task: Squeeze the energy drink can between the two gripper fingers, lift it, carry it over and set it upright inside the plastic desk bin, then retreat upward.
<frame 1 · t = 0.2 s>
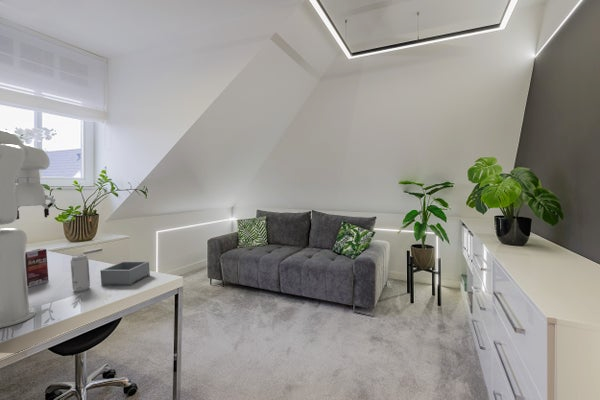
hand: (32, 218, 129), 31 cm above the table, tool pointing down, fingers open, 9 cm apart
supplement box: (35, 284, 130), on the table
energy drink can: (81, 290, 122), on the table
desk bin: (126, 280, 132), on the table
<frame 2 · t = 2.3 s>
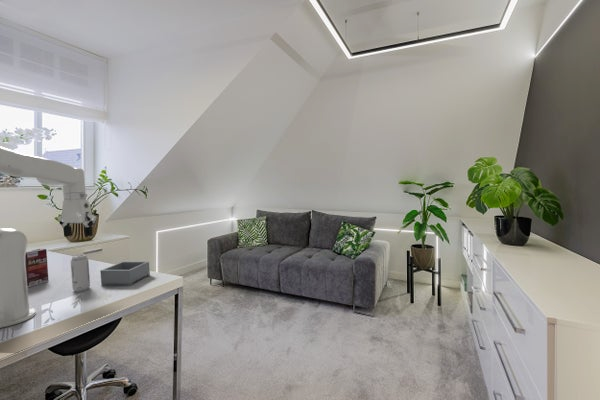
hand: (78, 236, 120), 24 cm above the table, tool pointing down, fingers open, 9 cm apart
nothing on the table moved.
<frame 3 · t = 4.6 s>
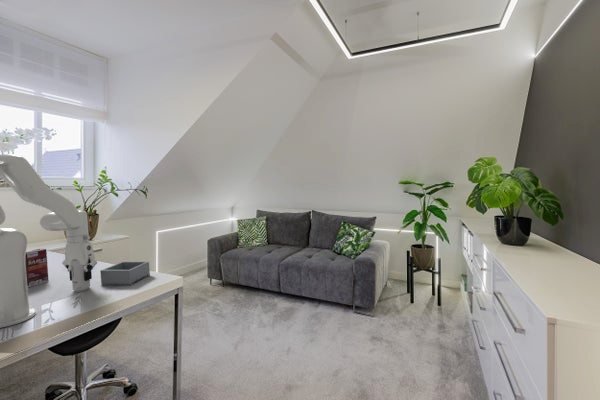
hand: (81, 279, 121), 5 cm above the table, tool pointing down, fingers closed on energy drink can, 6 cm apart
energy drink can: (81, 290, 122), on the table, touching gripper
everything else where it was.
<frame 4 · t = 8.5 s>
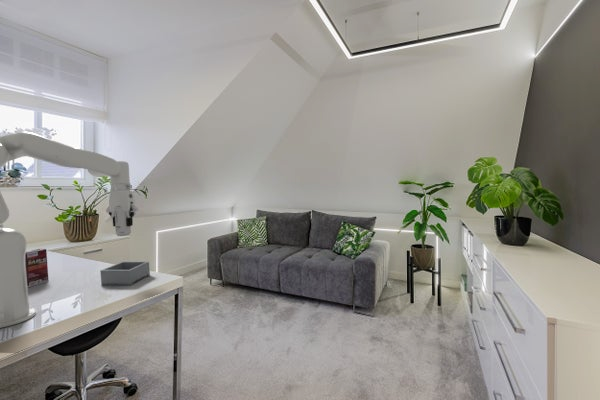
hand: (122, 225, 131), 26 cm above the table, tool pointing down, fingers closed on energy drink can, 6 cm apart
energy drink can: (123, 235, 131), point 22 cm above the table, touching gripper
everything else where it was.
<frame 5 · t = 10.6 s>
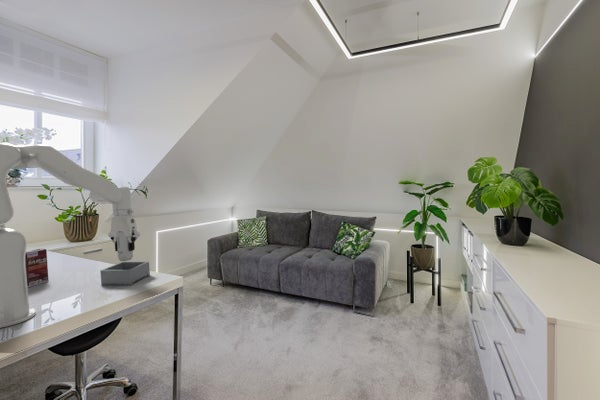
hand: (125, 250, 132), 15 cm above the table, tool pointing down, fingers closed on energy drink can, 6 cm apart
energy drink can: (125, 260, 132), point 10 cm above the table, touching gripper
everything else where it was.
when the fingers open (8 cm above the table, at t = 12.4 s): energy drink can drops 2 cm, resting on desk bin.
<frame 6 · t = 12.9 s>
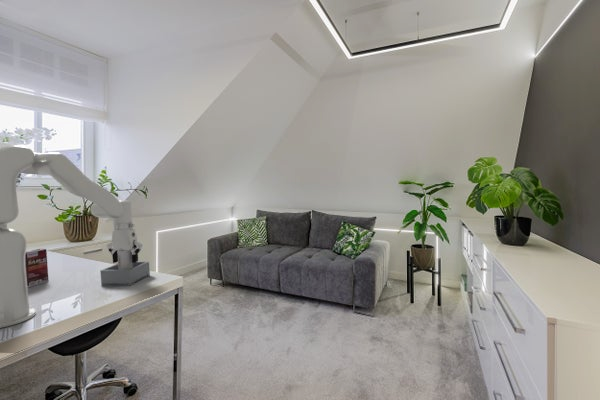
hand: (125, 262, 132), 9 cm above the table, tool pointing down, fingers open, 9 cm apart
energy drink can: (126, 278, 132), point 1 cm above the table, touching desk bin
everything else where it was.
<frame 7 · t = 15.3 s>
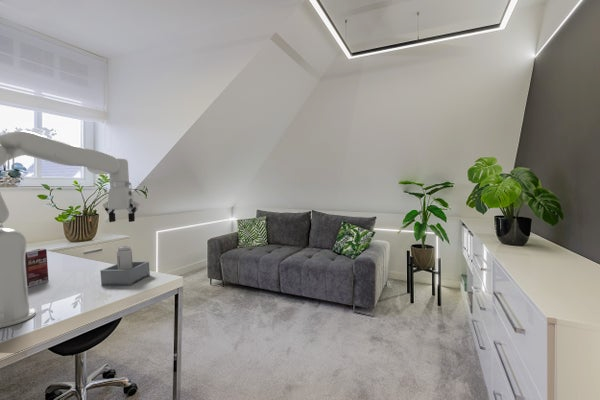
hand: (122, 221, 130), 28 cm above the table, tool pointing down, fingers open, 9 cm apart
nothing on the table moved.
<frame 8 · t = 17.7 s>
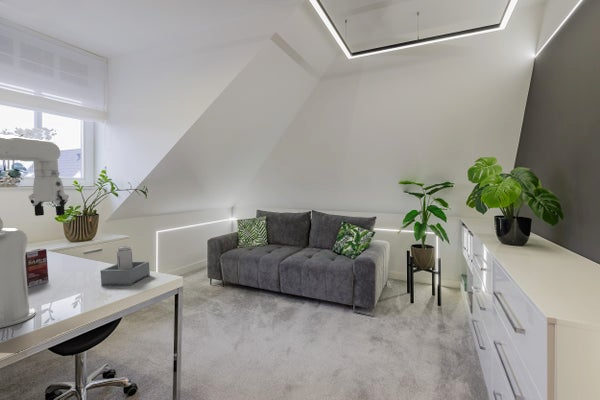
hand: (50, 215, 117), 33 cm above the table, tool pointing down, fingers open, 9 cm apart
nothing on the table moved.
at the end: energy drink can inside the target area on the desk bin (0.2 cm from its centre), point 0.8 cm above the desk bin's base; energy drink can tilted 0°; the gripper is holding nothing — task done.
